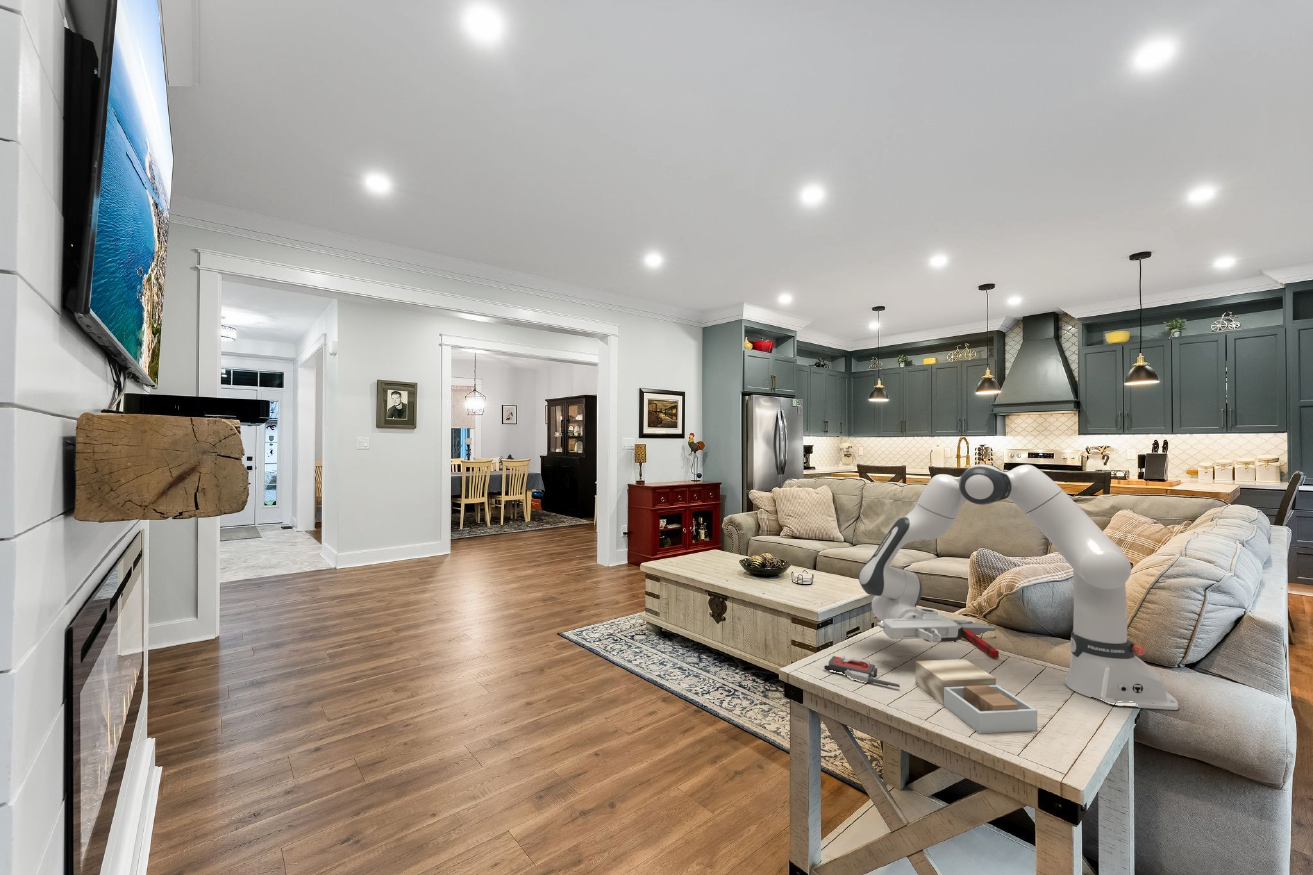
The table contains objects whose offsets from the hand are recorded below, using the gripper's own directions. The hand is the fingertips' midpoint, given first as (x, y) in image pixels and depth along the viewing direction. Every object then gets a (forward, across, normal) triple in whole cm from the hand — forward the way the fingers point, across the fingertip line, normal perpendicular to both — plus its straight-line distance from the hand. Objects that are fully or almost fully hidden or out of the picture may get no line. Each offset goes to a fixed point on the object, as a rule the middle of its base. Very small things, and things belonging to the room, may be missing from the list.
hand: (936, 638), depth 154 cm
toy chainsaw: (-4, -19, +12) cm, 23 cm away
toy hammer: (-26, +26, +12) cm, 39 cm away
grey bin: (+21, 0, +11) cm, 23 cm away
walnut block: (+16, 0, +8) cm, 18 cm away
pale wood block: (+8, 0, +11) cm, 14 cm away
